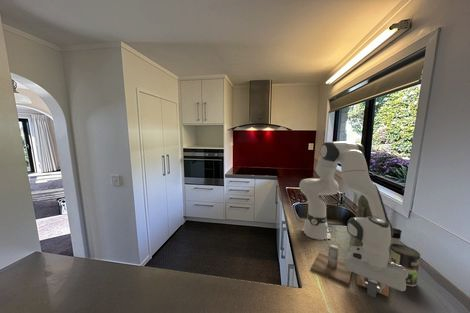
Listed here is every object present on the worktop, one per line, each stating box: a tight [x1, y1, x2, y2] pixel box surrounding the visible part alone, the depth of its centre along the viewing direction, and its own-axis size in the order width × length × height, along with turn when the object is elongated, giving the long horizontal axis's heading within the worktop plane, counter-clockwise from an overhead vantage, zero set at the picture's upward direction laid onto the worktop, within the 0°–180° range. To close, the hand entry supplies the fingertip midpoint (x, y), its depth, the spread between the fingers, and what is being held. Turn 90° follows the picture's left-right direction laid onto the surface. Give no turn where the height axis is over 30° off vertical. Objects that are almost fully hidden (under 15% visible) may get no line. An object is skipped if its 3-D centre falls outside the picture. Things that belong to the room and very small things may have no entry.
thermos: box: [352, 194, 372, 247], centre depth 101 cm, size 9×12×35 cm
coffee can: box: [389, 243, 421, 287], centre depth 87 cm, size 10×10×14 cm
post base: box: [310, 244, 353, 287], centre depth 92 cm, size 16×16×12 cm
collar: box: [355, 274, 390, 298], centre depth 82 cm, size 15×11×5 cm
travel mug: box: [389, 227, 402, 258], centre depth 95 cm, size 6×7×20 cm
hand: (371, 288), depth 78 cm, fingers open, 3 cm apart
